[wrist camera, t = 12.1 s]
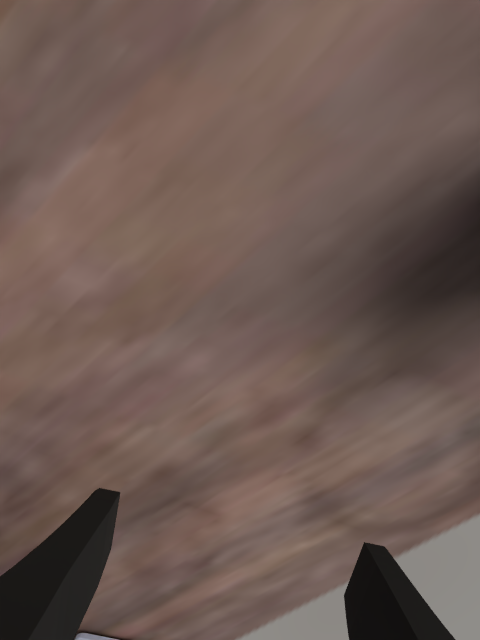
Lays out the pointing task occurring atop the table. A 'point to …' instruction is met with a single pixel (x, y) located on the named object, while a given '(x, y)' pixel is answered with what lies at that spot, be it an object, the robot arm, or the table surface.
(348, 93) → the table surface
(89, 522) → the robot arm
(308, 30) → the table surface
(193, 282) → the table surface
